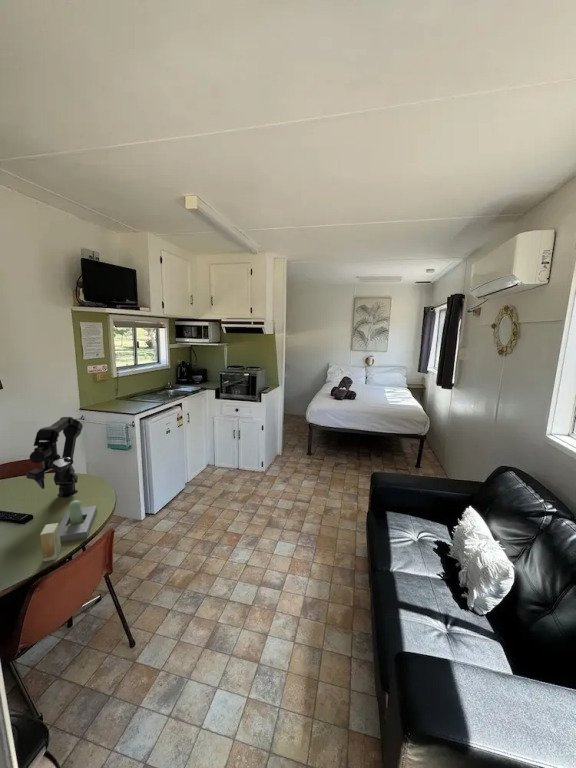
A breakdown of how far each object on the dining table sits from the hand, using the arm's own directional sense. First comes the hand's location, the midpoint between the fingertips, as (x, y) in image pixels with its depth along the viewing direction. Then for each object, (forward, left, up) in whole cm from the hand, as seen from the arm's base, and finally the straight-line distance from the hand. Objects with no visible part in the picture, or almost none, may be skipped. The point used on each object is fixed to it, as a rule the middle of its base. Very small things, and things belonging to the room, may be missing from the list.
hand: (52, 483), depth 147 cm
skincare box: (+24, +28, -13) cm, 39 cm away
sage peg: (+7, +21, -12) cm, 26 cm away
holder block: (+7, +21, -13) cm, 26 cm away
